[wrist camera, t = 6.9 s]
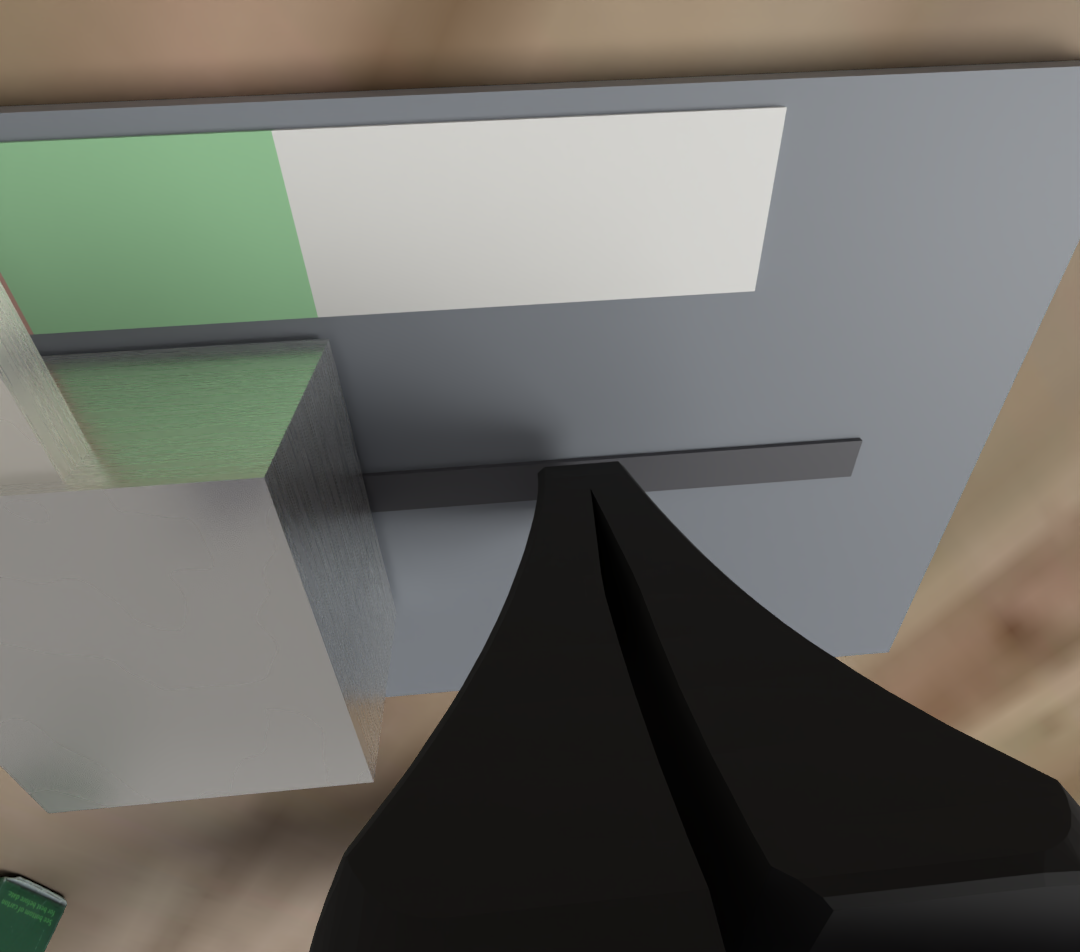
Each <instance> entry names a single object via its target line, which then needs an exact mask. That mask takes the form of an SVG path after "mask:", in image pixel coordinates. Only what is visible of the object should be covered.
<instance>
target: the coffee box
mask: <svg viewBox="0 0 1080 952" xmlns="http://www.w3.org/2000/svg"><path fill="white" fill-rule="evenodd" d="M66 905H67V902H66V900H65V899H64V898H63V897H61V896H60V895H58V894H56V893H54V892H51V891H50V890H49V889H46V888H44V887H42V886H40V885H38V884H36V883H33V882H31V881H30V880H27V879H24V878H23V877H20V876H18V877H13V878H11V877H6V876H5V877H1V878H0V952H45V949H46V947H47V945H48V943H49V941H50V939H51V937H52V935H53V933H54V931H55V929H56V927H57V925H58V922H59V920H60V918H61V916H62V914H63V913H64V909H65V907H66Z"/></svg>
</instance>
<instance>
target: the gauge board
mask: <svg viewBox="0 0 1080 952" xmlns="http://www.w3.org/2000/svg"><path fill="white" fill-rule="evenodd" d="M1079 240H1080V60H1072V61H1049V62H1026V63H1002V64H979V65H956V66H932V67H909V68H886V69H862V70H839V71H815V72H792V73H769V74H745V75H722V76H699V77H675V78H652V79H629V80H605V81H582V82H559V83H535V84H512V85H488V86H465V87H442V88H418V89H395V90H372V91H348V92H325V93H302V94H278V95H255V96H231V97H208V98H185V99H161V100H138V101H115V102H91V103H68V104H45V105H21V106H0V282H1V284H2V285H3V287H4V289H5V291H6V293H7V295H8V296H9V298H10V300H11V302H12V304H13V306H14V308H15V309H16V311H17V313H18V315H19V317H20V319H21V320H22V322H23V324H24V326H25V328H26V330H27V331H28V333H29V335H30V337H31V339H32V341H33V342H34V344H35V346H36V348H37V350H38V352H39V353H40V355H41V356H53V355H69V354H86V353H102V352H118V351H134V350H150V349H167V348H183V347H199V346H215V345H232V344H248V343H264V342H280V341H296V340H313V339H329V340H330V344H331V348H332V352H333V356H334V360H335V364H336V369H337V373H338V377H339V381H340V385H341V389H342V393H343V397H344V401H345V405H346V409H347V414H348V418H349V422H350V426H351V430H352V434H353V438H354V442H355V446H356V450H357V454H358V458H359V463H360V467H361V471H362V475H363V479H364V483H365V487H366V491H367V495H368V499H369V503H370V508H371V512H372V516H373V520H374V524H375V528H376V532H377V536H378V540H379V544H380V548H381V553H382V557H383V561H384V565H385V569H386V573H387V577H388V581H389V585H390V589H391V593H392V598H393V602H394V606H395V610H396V622H395V629H394V637H393V644H392V651H391V659H390V666H389V673H388V681H387V688H386V696H385V697H392V696H404V695H415V694H426V693H437V692H448V691H459V690H460V689H461V687H462V686H463V684H464V682H465V680H466V678H467V677H468V675H469V673H470V671H471V669H472V668H473V666H474V664H475V662H476V660H477V658H478V657H479V655H480V653H481V651H482V649H483V647H484V646H485V644H486V642H487V639H488V637H489V635H490V633H491V631H492V629H493V627H494V625H495V623H496V621H497V619H498V617H499V614H500V612H501V610H502V608H503V605H504V603H505V601H506V598H507V596H508V594H509V591H510V588H511V586H512V583H513V580H514V578H515V575H516V572H517V570H518V567H519V564H520V562H521V559H522V556H523V553H524V550H525V546H526V543H527V539H528V536H529V532H530V529H531V525H532V522H533V517H534V512H535V507H536V502H537V495H538V472H539V471H540V470H542V469H543V468H544V467H550V466H563V465H575V464H588V463H601V462H614V461H618V462H620V463H621V464H622V465H623V466H624V467H625V468H626V470H627V471H628V472H629V473H630V475H631V476H632V477H633V478H634V479H635V481H636V482H637V483H638V484H639V486H640V487H641V488H642V489H643V490H644V491H645V493H646V494H647V495H648V496H649V497H650V498H651V500H652V501H653V502H654V503H655V504H656V505H657V506H658V508H659V509H660V510H661V511H662V512H663V513H664V514H665V515H666V516H667V517H668V519H669V520H670V521H671V522H672V523H673V524H674V525H675V526H676V527H677V528H678V529H679V530H680V531H681V532H682V533H683V534H684V535H685V536H686V537H687V538H688V539H689V540H690V541H691V542H692V543H693V545H694V546H696V547H697V548H698V549H699V550H700V551H701V552H702V553H703V554H704V555H705V556H706V557H707V558H708V559H709V560H710V561H711V562H712V563H713V564H714V565H715V566H717V567H718V568H719V569H720V570H721V571H722V572H723V573H724V574H725V575H726V576H727V577H729V578H730V579H731V580H732V581H733V582H734V583H735V584H737V585H738V586H739V587H740V588H741V589H742V590H743V591H745V592H746V593H747V594H748V595H749V596H751V597H752V598H753V599H754V600H755V601H757V602H758V603H759V604H760V605H762V606H763V607H764V608H766V609H767V610H768V611H770V612H771V613H772V614H773V615H775V616H776V617H777V618H779V619H780V620H781V621H782V622H784V623H785V624H786V625H788V626H789V627H791V628H792V629H793V630H795V631H796V632H798V633H799V634H800V635H802V636H803V637H805V638H806V639H807V640H809V641H810V642H812V643H813V644H815V645H816V646H818V647H820V648H821V649H823V650H824V651H826V652H827V653H829V654H830V655H832V656H833V657H839V656H851V655H862V654H873V653H884V652H889V650H890V648H891V645H892V643H893V641H894V639H895V637H896V635H897V633H898V630H899V628H900V626H901V624H902V622H903V620H904V617H905V615H906V613H907V611H908V609H909V607H910V604H911V602H912V600H913V598H914V596H915V594H916V591H917V589H918V587H919V585H920V583H921V581H922V579H923V576H924V574H925V572H926V570H927V568H928V566H929V563H930V561H931V559H932V557H933V555H934V553H935V550H936V548H937V546H938V544H939V542H940V540H941V538H942V535H943V533H944V531H945V529H946V527H947V525H948V522H949V520H950V518H951V516H952V514H953V512H954V509H955V507H956V505H957V503H958V501H959V499H960V496H961V494H962V492H963V490H964V488H965V486H966V484H967V481H968V479H969V477H970V475H971V473H972V471H973V468H974V466H975V464H976V462H977V460H978V458H979V455H980V453H981V451H982V449H983V447H984V445H985V442H986V440H987V438H988V436H989V434H990V432H991V430H992V427H993V425H994V423H995V421H996V419H997V417H998V414H999V412H1000V410H1001V408H1002V406H1003V404H1004V401H1005V399H1006V397H1007V395H1008V393H1009V391H1010V389H1011V386H1012V384H1013V382H1014V380H1015V378H1016V376H1017V373H1018V371H1019V369H1020V367H1021V365H1022V363H1023V360H1024V358H1025V356H1026V354H1027V352H1028V350H1029V347H1030V345H1031V343H1032V341H1033V339H1034V337H1035V335H1036V332H1037V330H1038V328H1039V326H1040V324H1041V322H1042V319H1043V317H1044V315H1045V313H1046V311H1047V309H1048V306H1049V304H1050V302H1051V300H1052V298H1053V296H1054V294H1055V291H1056V289H1057V287H1058V285H1059V283H1060V281H1061V278H1062V276H1063V274H1064V272H1065V270H1066V268H1067V265H1068V263H1069V261H1070V259H1071V257H1072V255H1073V252H1074V250H1075V248H1076V246H1077V244H1078V242H1079Z"/></svg>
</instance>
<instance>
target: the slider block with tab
mask: <svg viewBox="0 0 1080 952" xmlns="http://www.w3.org/2000/svg"><path fill="white" fill-rule="evenodd" d="M395 622H396V610H395V606H394V602H393V598H392V593H391V589H390V585H389V581H388V577H387V573H386V569H385V565H384V561H383V557H382V553H381V548H380V544H379V540H378V536H377V532H376V528H375V524H374V520H373V516H372V512H371V508H370V503H369V499H368V495H367V491H366V487H365V483H364V479H363V475H362V471H361V467H360V463H359V458H358V454H357V450H356V446H355V442H354V438H353V434H352V430H351V426H350V422H349V418H348V414H347V409H346V405H345V401H344V397H343V393H342V389H341V385H340V381H339V377H338V373H337V369H336V364H335V360H334V356H333V352H332V348H331V344H330V340H329V339H313V340H296V341H280V342H264V343H248V344H232V345H215V346H199V347H183V348H167V349H150V350H134V351H118V352H102V353H86V354H69V355H53V356H41V355H40V353H39V352H38V350H37V348H36V346H35V344H34V342H33V341H32V339H31V337H30V335H29V333H28V331H27V330H26V328H25V326H24V324H23V322H22V320H21V319H20V317H19V315H18V313H17V311H16V309H15V308H14V306H13V304H12V302H11V300H10V298H9V296H8V295H7V293H6V291H5V289H4V287H3V285H2V284H1V282H0V766H1V767H2V768H3V769H4V770H5V771H6V772H7V773H8V774H9V775H10V776H11V777H12V778H13V779H14V780H15V781H16V782H17V783H18V784H19V785H20V786H21V787H22V788H23V789H24V790H25V791H26V792H27V793H28V794H29V795H30V796H31V797H32V798H33V799H34V800H35V801H36V802H37V803H38V804H39V805H40V806H41V807H42V808H43V809H44V810H45V811H46V812H47V813H57V812H67V811H78V810H88V809H99V808H109V807H120V806H130V805H140V804H151V803H161V802H172V801H182V800H193V799H203V798H213V797H224V796H234V795H245V794H255V793H266V792H276V791H286V790H297V789H307V788H318V787H328V786H338V785H349V784H359V783H370V782H374V777H375V769H376V762H377V755H378V747H379V740H380V732H381V725H382V718H383V710H384V703H385V696H386V688H387V681H388V673H389V666H390V659H391V651H392V644H393V637H394V629H395Z"/></svg>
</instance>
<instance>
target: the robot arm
mask: <svg viewBox="0 0 1080 952" xmlns="http://www.w3.org/2000/svg"><path fill="white" fill-rule="evenodd" d="M309 952H1080V806H1079V805H1078V804H1077V803H1076V801H1075V800H1074V799H1073V798H1072V797H1071V796H1070V794H1069V793H1068V792H1067V791H1066V790H1065V789H1064V787H1063V786H1062V785H1061V784H1060V783H1059V782H1058V780H1056V779H1054V778H1052V777H1050V776H1048V775H1046V774H1044V773H1042V772H1040V771H1038V770H1036V769H1034V768H1032V767H1030V766H1028V765H1026V764H1024V763H1022V762H1020V761H1018V760H1016V759H1014V758H1012V757H1010V756H1008V755H1006V754H1004V753H1002V752H1000V751H998V750H996V749H994V748H992V747H990V746H988V745H986V744H984V743H982V742H980V741H978V740H976V739H974V738H972V737H970V736H968V735H966V734H964V733H962V732H960V731H958V730H956V729H954V728H953V727H951V726H949V725H947V724H945V723H943V722H941V721H940V720H938V719H936V718H934V717H933V716H931V715H929V714H927V713H926V712H924V711H922V710H920V709H918V708H917V707H915V706H913V705H911V704H910V703H908V702H906V701H904V700H903V699H901V698H899V697H897V696H896V695H894V694H892V693H890V692H889V691H887V690H885V689H884V688H882V687H880V686H879V685H877V684H875V683H874V682H872V681H871V680H869V679H867V678H866V677H864V676H862V675H861V674H859V673H857V672H856V671H854V670H853V669H851V668H850V667H848V666H847V665H845V664H844V663H842V662H841V661H839V660H838V659H836V658H835V657H833V656H832V655H830V654H829V653H827V652H826V651H824V650H823V649H821V648H820V647H818V646H816V645H815V644H813V643H812V642H810V641H809V640H807V639H806V638H805V637H803V636H802V635H800V634H799V633H798V632H796V631H795V630H793V629H792V628H791V627H789V626H788V625H786V624H785V623H784V622H782V621H781V620H780V619H779V618H777V617H776V616H775V615H773V614H772V613H771V612H770V611H768V610H767V609H766V608H764V607H763V606H762V605H760V604H759V603H758V602H757V601H755V600H754V599H753V598H752V597H751V596H749V595H748V594H747V593H746V592H745V591H743V590H742V589H741V588H740V587H739V586H738V585H737V584H735V583H734V582H733V581H732V580H731V579H730V578H729V577H727V576H726V575H725V574H724V573H723V572H722V571H721V570H720V569H719V568H718V567H717V566H715V565H714V564H713V563H712V562H711V561H710V560H709V559H708V558H707V557H706V556H705V555H704V554H703V553H702V552H701V551H700V550H699V549H698V548H697V547H696V546H694V545H693V543H692V542H691V541H690V540H689V539H688V538H687V537H686V536H685V535H684V534H683V533H682V532H681V531H680V530H679V529H678V528H677V527H676V526H675V525H674V524H673V523H672V522H671V521H670V520H669V519H668V517H667V516H666V515H665V514H664V513H663V512H662V511H661V510H660V509H659V508H658V506H657V505H656V504H655V503H654V502H653V501H652V500H651V498H650V497H649V496H648V495H647V494H646V493H645V491H644V490H643V489H642V488H641V487H640V486H639V484H638V483H637V482H636V481H635V479H634V478H633V477H632V476H631V475H630V473H629V472H628V471H627V470H626V468H625V467H624V466H623V465H622V464H621V463H620V462H618V461H614V462H601V463H588V464H575V465H563V466H550V467H544V468H543V469H542V470H540V471H539V472H538V495H537V502H536V507H535V512H534V517H533V522H532V525H531V529H530V532H529V536H528V539H527V543H526V546H525V550H524V553H523V556H522V559H521V562H520V564H519V567H518V570H517V572H516V575H515V578H514V580H513V583H512V586H511V588H510V591H509V594H508V596H507V598H506V601H505V603H504V605H503V608H502V610H501V612H500V614H499V617H498V619H497V621H496V623H495V625H494V627H493V629H492V631H491V633H490V635H489V637H488V639H487V642H486V644H485V646H484V647H483V649H482V651H481V653H480V655H479V657H478V658H477V660H476V662H475V664H474V666H473V668H472V669H471V671H470V673H469V675H468V677H467V678H466V680H465V682H464V684H463V686H462V687H461V689H460V691H459V692H458V694H457V696H456V697H455V699H454V701H453V702H452V704H451V706H450V707H449V709H448V710H447V712H446V713H445V715H444V716H443V718H442V719H441V721H440V722H439V724H438V725H437V727H436V728H435V730H434V731H433V733H432V734H431V736H430V737H429V739H428V740H427V742H426V743H425V745H424V746H423V748H422V749H421V751H420V752H419V754H418V755H417V757H416V758H415V760H414V761H413V763H412V764H411V766H410V767H409V769H408V770H407V771H406V773H405V774H404V776H403V777H402V778H401V780H400V781H399V782H398V784H397V785H396V786H395V788H394V789H393V790H392V791H391V793H390V794H389V795H388V797H387V798H386V799H385V801H384V802H383V803H382V804H381V806H380V807H379V808H378V810H377V811H376V812H375V814H374V815H373V816H372V817H371V819H370V820H369V821H368V823H367V824H366V825H365V827H364V828H363V829H362V830H361V832H360V833H359V834H358V836H357V837H356V838H355V840H354V841H353V842H352V843H351V845H350V846H349V847H348V849H347V850H346V852H345V853H344V855H343V857H342V860H341V862H340V865H339V867H338V869H337V872H336V874H335V877H334V880H333V882H332V885H331V887H330V890H329V892H328V895H327V898H326V900H325V903H324V906H323V909H322V912H321V915H320V918H319V921H318V923H317V926H316V930H315V933H314V936H313V940H312V944H311V947H310V951H309Z"/></svg>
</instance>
